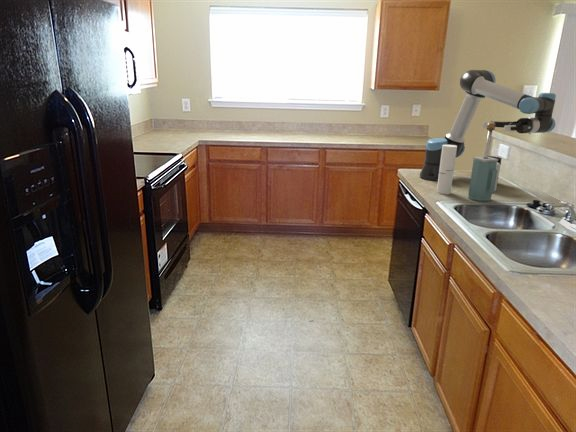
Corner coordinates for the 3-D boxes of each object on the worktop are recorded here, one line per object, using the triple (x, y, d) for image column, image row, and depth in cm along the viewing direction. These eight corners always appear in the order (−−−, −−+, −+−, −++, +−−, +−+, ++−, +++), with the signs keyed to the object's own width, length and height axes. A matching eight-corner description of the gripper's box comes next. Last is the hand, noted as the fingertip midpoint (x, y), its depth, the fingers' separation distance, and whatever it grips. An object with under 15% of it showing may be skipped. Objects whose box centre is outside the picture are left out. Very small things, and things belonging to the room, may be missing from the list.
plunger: (472, 172, 220) (480, 122, 212) (483, 172, 222) (491, 122, 214) (482, 176, 213) (491, 124, 205) (494, 175, 216) (503, 124, 208)
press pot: (463, 197, 225) (469, 156, 218) (480, 195, 228) (486, 155, 222) (482, 204, 213) (488, 161, 206) (499, 202, 216) (506, 160, 210)
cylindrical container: (451, 194, 229) (458, 147, 221) (437, 193, 230) (443, 146, 222) (449, 191, 236) (455, 145, 228) (435, 190, 237) (441, 144, 229)
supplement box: (496, 191, 237) (501, 164, 232) (478, 190, 239) (483, 163, 234) (492, 187, 246) (496, 160, 241) (475, 186, 247) (479, 160, 242)
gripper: (547, 136, 207) (512, 138, 200) (505, 129, 229) (473, 131, 222) (550, 120, 205) (515, 121, 198) (508, 115, 227) (476, 116, 220)
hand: (493, 126), depth 210 cm, fingers open, 13 cm apart
